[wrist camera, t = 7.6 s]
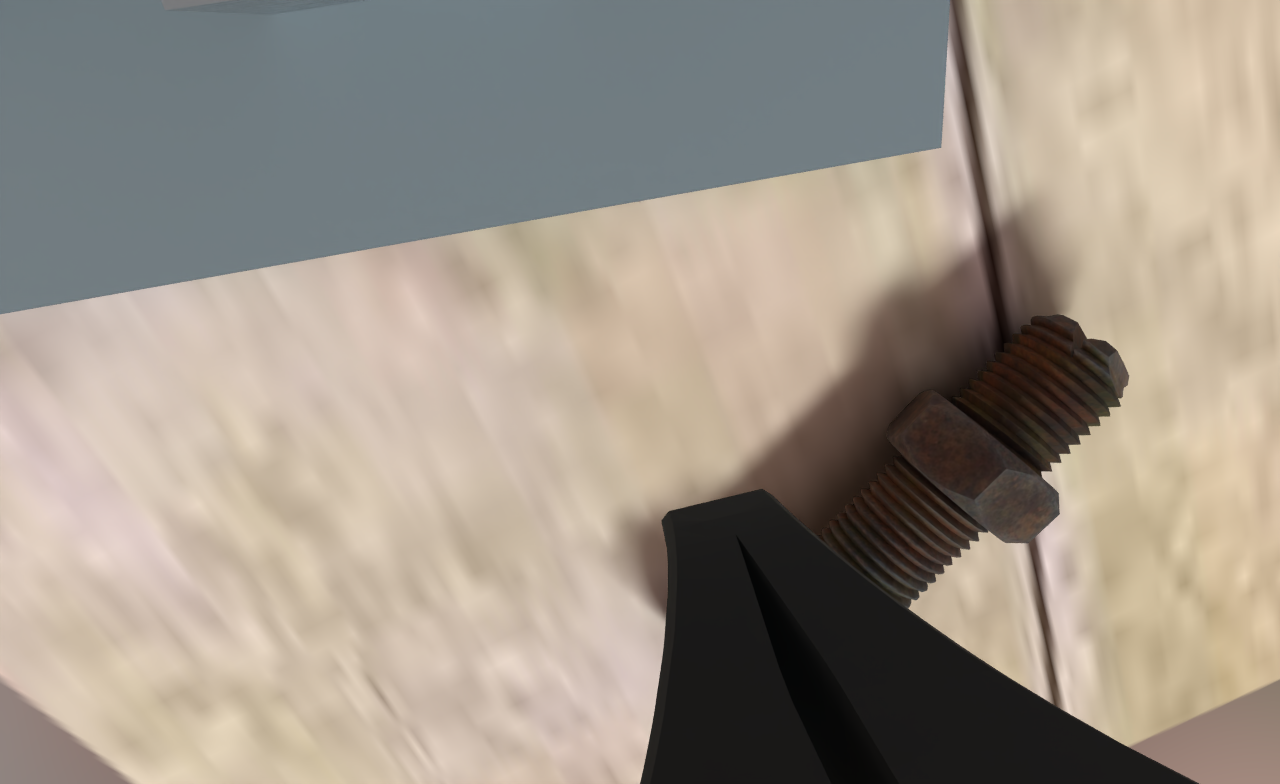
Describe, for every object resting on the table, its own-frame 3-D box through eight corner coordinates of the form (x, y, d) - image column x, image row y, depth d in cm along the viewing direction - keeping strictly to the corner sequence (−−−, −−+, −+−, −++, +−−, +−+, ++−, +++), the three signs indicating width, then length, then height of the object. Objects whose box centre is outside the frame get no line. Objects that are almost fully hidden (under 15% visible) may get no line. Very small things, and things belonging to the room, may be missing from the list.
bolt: (1016, 313, 23) (710, 627, 26) (986, 251, 19) (631, 630, 22) (1193, 432, 20) (817, 775, 23) (1202, 387, 16) (745, 809, 19)
